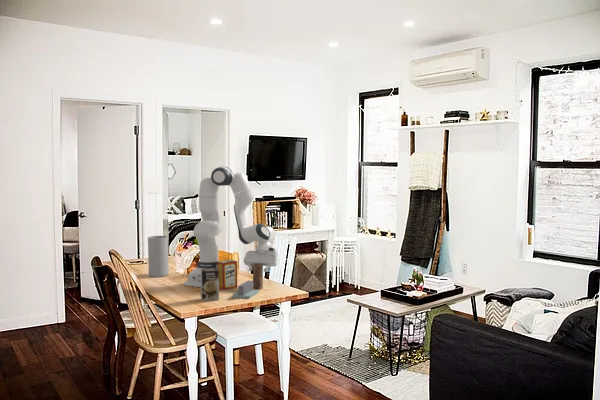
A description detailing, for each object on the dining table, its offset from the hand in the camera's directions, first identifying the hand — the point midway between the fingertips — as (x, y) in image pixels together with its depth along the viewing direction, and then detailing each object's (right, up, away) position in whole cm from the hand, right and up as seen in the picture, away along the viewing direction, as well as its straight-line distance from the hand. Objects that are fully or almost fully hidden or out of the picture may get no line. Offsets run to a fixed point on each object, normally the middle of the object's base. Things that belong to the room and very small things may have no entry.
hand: (257, 270), depth 319 cm
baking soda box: (-18, -11, +4) cm, 21 cm away
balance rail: (-5, -12, -14) cm, 19 cm away
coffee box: (-24, -13, -23) cm, 35 cm away
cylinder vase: (-67, -8, +38) cm, 78 cm away
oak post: (0, -10, +1) cm, 10 cm away
